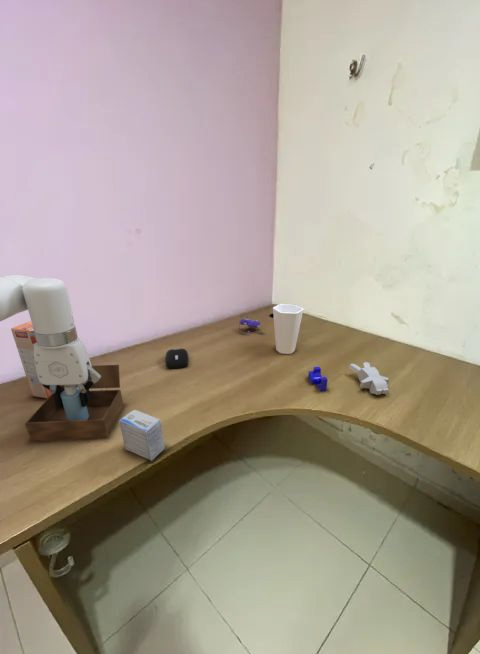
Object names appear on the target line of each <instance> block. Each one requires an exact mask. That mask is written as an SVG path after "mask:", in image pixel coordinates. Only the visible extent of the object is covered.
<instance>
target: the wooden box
mask: <svg viewBox="0 0 480 654" xmlns="http://www.w3.org/2000/svg"><path fill="white" fill-rule="evenodd" d="M89 391H90V395H91V400H90V402H88V404H87V405H86V406H87V410H88V414H89V418H88V419H87V420H73V421H67V417H66V414H65V410H64V406H62V407H61V408H58V405H57V403H56V401H55V398H54V394H51V395H50V396H49V397H48V399H47V398H46V399H45V401H43V403H42V404H41V405H40V406H39V407H38V409H37V410H35V412H34V413H33V414H31V416H30V417H29V418H28V420H27V421H26V422H25V427H26V430H27V432H28V435H29V438H30V440H31V442H50V441H70V440H90V439H107V438H109V436H110V434H111V431H112V430H113V427H114V426H115V424H116V422H117V420H118V419H119V415H120V414H121V412H122V410H123V408H124V401H123V396H122V390H121V389H102V390H101V389H99V390H98V389H97V390H89Z"/></svg>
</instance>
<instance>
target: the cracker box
mask: <svg viewBox="0 0 480 654" xmlns="http://www.w3.org/2000/svg"><path fill="white" fill-rule="evenodd" d="M10 331H11V333H12V334H11V335H12V337H13V340H14V342H15V345H16V346H15V347H16V349H17V352H18V355H19V358H20V362H21V364H22V369H23V371H24V374H25V378H26V381H27V383H28V386H29V390H30V393H31V396H32V397H36V398H42V399H46V400H47V399H48V397H49V396H50V395H51V394H52V393H50V390H48V389H47V388H45V387H44V386H43V385H42V384H39V383H37V382H35V381H34V380H33V379H34V377H35V376H36V374H37V372H36V368H35V361H34V344H35V343H36V342H37V341H36V338H35V337H30V335H29V332H30V331H34V328H33V325H32V322H31V320H29V321H27V322H25V323H21V324H19V325H16V326H14V327H11V328H10Z"/></svg>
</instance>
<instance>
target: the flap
mask: <svg viewBox="0 0 480 654" xmlns="http://www.w3.org/2000/svg"><path fill="white" fill-rule="evenodd" d="M91 366H92V368H93V369H94V370H95V371H96V372H98V373H99V374H100V375H101V379H100V380H99V381H98V382H96V383H95V384H93V385H92V386H91V387H90V388H89V390H91V389H92V390H93V389H120V388H121V379H120V378H121V377H120V364H94V365H93V364H91ZM90 379H92V378H91V377H90V376H88V381H89V380H90ZM64 386H65V385H61V387H63V388H64ZM76 387H78V386H77V385H76Z"/></svg>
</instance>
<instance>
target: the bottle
mask: <svg viewBox="0 0 480 654" xmlns="http://www.w3.org/2000/svg"><path fill="white" fill-rule="evenodd" d="M64 389H65V390H64V391H63V392H62V393H61V399H62V403H63V406H64V410H65V414H66V417H67V421H73V420H87V419H88V418H89V414H88V410H87V406H86V407H82V405H81V401H80V397H79V393H80V392H81V391H80V389H79V387H76V385H65V386H64Z"/></svg>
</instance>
